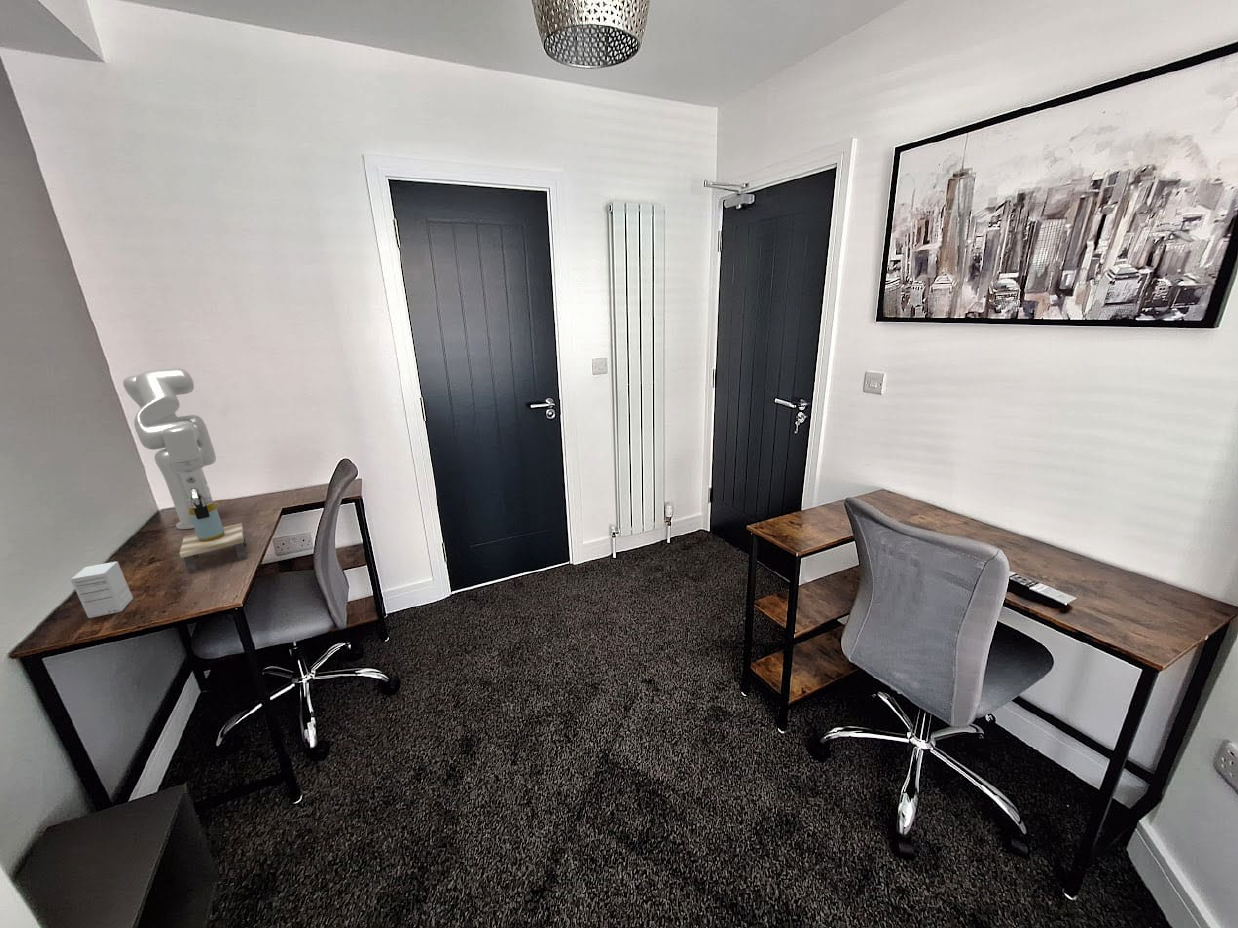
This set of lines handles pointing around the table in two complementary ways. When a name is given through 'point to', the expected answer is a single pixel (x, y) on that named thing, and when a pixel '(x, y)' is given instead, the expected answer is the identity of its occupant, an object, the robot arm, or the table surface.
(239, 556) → the footstool
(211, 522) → the bottle
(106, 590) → the supplement box
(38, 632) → the table surface
